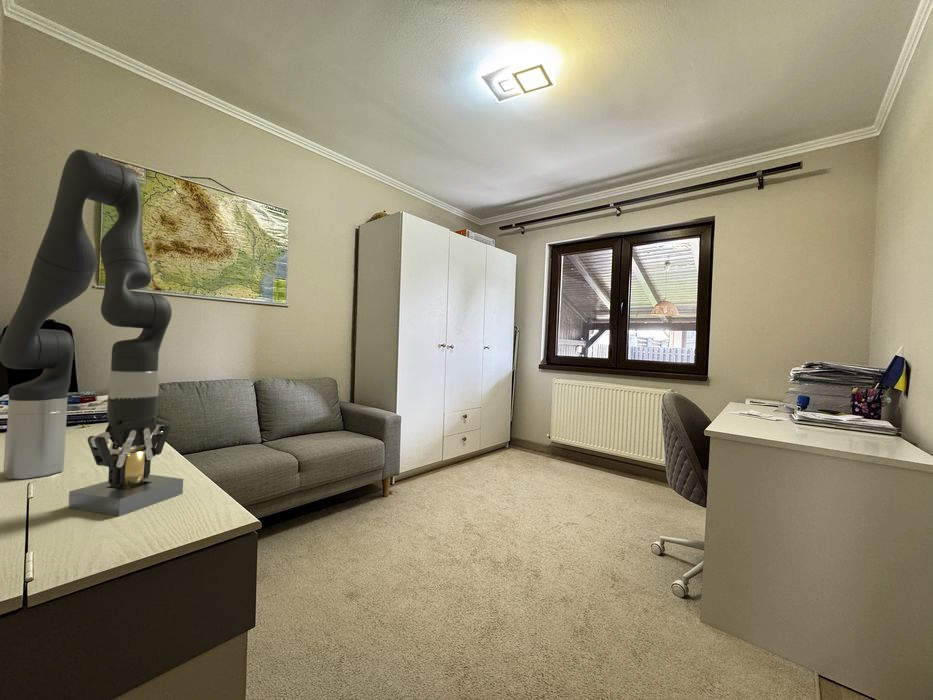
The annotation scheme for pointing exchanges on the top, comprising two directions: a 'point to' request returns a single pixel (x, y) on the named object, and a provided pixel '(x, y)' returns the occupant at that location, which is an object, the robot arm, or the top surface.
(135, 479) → the brass cylinder
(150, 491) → the frame
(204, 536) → the top surface
